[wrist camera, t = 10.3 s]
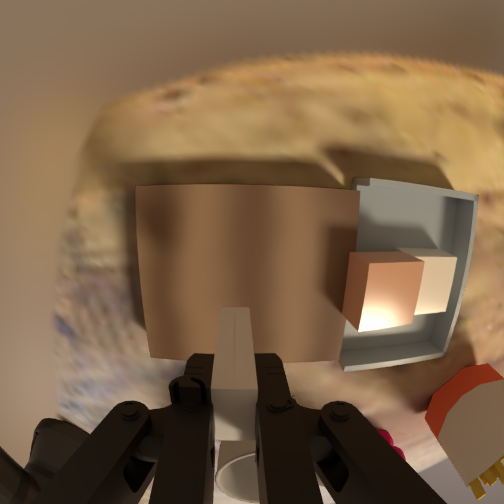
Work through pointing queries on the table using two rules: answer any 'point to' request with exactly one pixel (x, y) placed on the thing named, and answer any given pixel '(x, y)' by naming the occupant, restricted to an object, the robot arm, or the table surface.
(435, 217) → the tray
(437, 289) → the cream square block
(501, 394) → the french fries container
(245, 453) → the teacup
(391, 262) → the orange square block
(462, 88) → the table surface
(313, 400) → the table surface
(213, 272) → the walnut board
